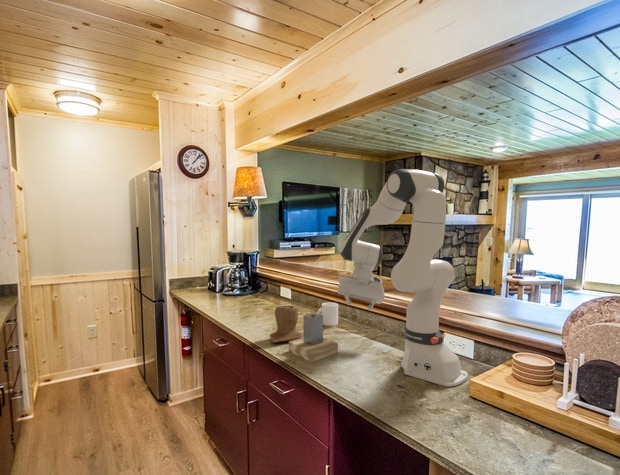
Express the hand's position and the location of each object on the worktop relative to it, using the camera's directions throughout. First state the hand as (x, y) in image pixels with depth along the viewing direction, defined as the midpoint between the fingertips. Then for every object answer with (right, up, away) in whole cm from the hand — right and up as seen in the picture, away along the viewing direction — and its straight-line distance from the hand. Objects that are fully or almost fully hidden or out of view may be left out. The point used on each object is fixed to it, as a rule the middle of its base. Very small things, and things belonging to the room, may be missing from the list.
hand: (359, 307), depth 146 cm
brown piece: (-32, -17, +10) cm, 37 cm away
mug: (-12, -15, +31) cm, 37 cm away
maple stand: (-20, -17, -6) cm, 27 cm away
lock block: (-19, -13, -6) cm, 24 cm away
